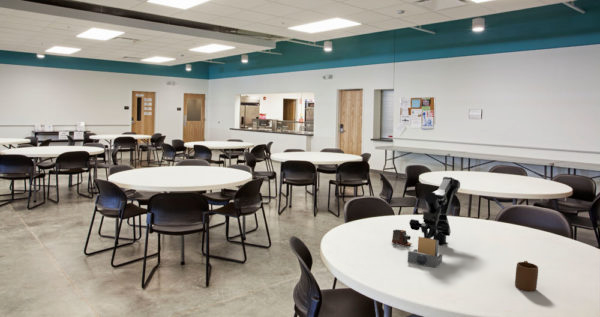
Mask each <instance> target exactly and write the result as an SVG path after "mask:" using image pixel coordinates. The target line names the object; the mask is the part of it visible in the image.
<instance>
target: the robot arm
mask: <svg viewBox="0 0 600 317" xmlns="http://www.w3.org/2000/svg"><path fill="white" fill-rule="evenodd" d="M460 188H461V182H460V180H459V179H455V178H453V177H452V176H443V178H442V181H441V183H440V185H439V186H438V189H437V190H434V191H432V192H430V193H429V194H427V195H426V196H424V200H425V203H426V207H427V209H428V210H427V212H425V211H424V212H423V216H422V220H423V222H420V221H419V219H413V218H411V219H410V220H409V222H408V223H409V224H408V225H409V227H410V229H411V230H414V231H419V230H421V233H422V234H423V237H424V238H429V239H434V240H439V242H438V246H444V245H449V242H447V236H448V237H450V236H451V227H450V223H449V219H448V214H449V211H450V207H451V204H452V201H453V197H454V195H455V194H457V193H458V191H459V189H460Z"/></svg>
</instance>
